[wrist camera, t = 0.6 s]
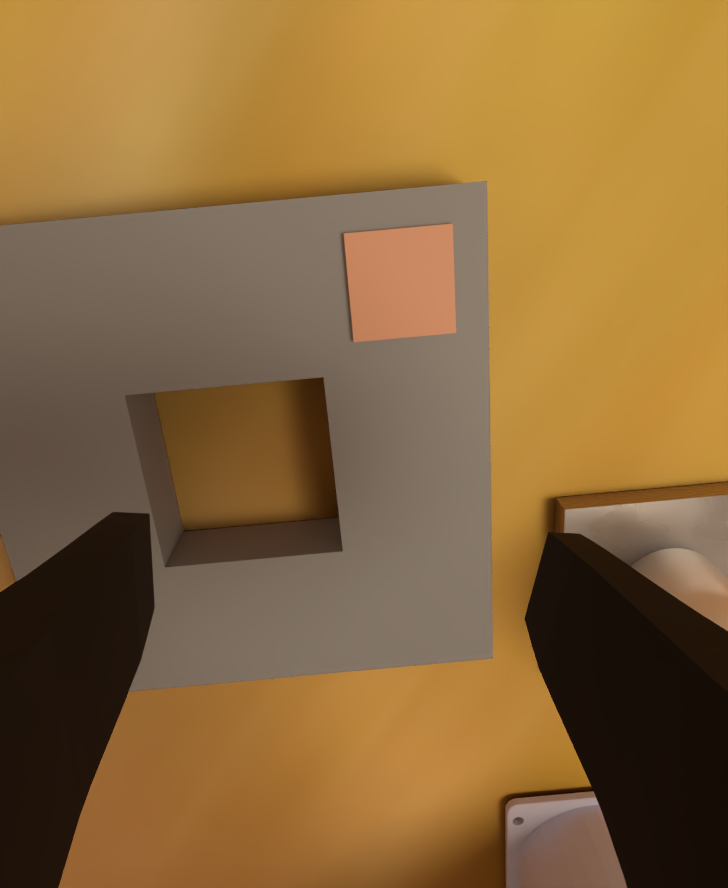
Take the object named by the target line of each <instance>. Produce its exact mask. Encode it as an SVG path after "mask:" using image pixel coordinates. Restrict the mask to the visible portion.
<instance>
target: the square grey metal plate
mask: <svg viewBox="0 0 728 888" xmlns="http://www.w3.org/2000/svg"><path fill="white" fill-rule="evenodd" d="M555 532H556V533H578V534H581V535H583V536H585V537H587V538H588V539H590V540H592V541H593V542H595V543H597V544H598V545H600V546H601V547H603V548H604V549H606V550H607V551H609V552H610V553H612V554H613V555H615V556H616V557H618V558H619V559H621V560H622V561H623V562H625V563H626V564H628V565H629V566H631V565H633V564H634V563H635V562H636V561H638V560H639V559H641V558H642V557H644V556H646V555H648V554H650V553H653V552H656V551H659V550H663V549H669V548H684V549H689V550H692V551H695V552H698V553H700V554H701V555H703V556H704V557H706V558H707V559H708V560H709V561H710V562H711V563H712V564H714V565H715V566H716V567H717V568H718V569H719V570H720V571H721V572H722V573H723V574H724V575H725V576H727V577H728V482H723V483H712V484H701V485H690V486H679V487H668V488H657V489H646V490H635V491H624V492H613V493H602V494H591V495H580V496H569V497H558V498H556V504H555Z"/></svg>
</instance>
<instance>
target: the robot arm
mask: <svg viewBox="0 0 728 888" xmlns="http://www.w3.org/2000/svg"><path fill="white" fill-rule="evenodd" d="M154 609H155V602H154V585H153V567H152V549H151V532H150V514H149V513H127V512H112V513H111V514H109V515H108V516H106V517H105V518H103V519H102V520H101V521H99V522H98V523H97V524H95V525H94V526H93V527H91V528H90V529H89V530H87V531H86V532H85V533H83V534H82V535H81V536H79V537H78V538H77V539H75V540H74V541H73V542H71V543H70V544H69V545H67V546H66V547H65V548H63V549H62V550H60V551H59V552H58V553H56V554H55V555H53V556H52V557H51V558H49V559H48V560H47V561H45V562H44V563H42V564H41V565H40V566H38V567H37V568H36V569H34V570H33V571H31V572H30V573H29V574H27V575H26V576H24V577H23V578H21V579H20V580H18V581H17V582H15V583H14V584H12V585H11V586H9V587H8V588H6V589H5V590H3V591H2V592H0V888H58V887H59V883H60V880H61V877H62V873H63V870H64V867H65V863H66V860H67V857H68V853H69V850H70V847H71V843H72V840H73V837H74V833H75V830H76V826H77V823H78V820H79V817H80V814H81V811H82V808H83V805H84V803H85V800H86V797H87V794H88V792H89V789H90V786H91V783H92V781H93V779H94V776H95V774H96V771H97V769H98V766H99V764H100V761H101V759H102V756H103V754H104V751H105V749H106V746H107V744H108V741H109V739H110V737H111V734H112V732H113V729H114V727H115V724H116V722H117V719H118V717H119V714H120V712H121V709H122V707H123V704H124V702H125V699H126V697H127V694H128V692H129V689H130V687H131V684H132V682H133V679H134V677H135V674H136V672H137V669H138V667H139V664H140V661H141V658H142V655H143V651H144V647H145V644H146V640H147V636H148V632H149V628H150V624H151V620H152V616H153V613H154ZM525 621H526V625H527V629H528V632H529V636H530V640H531V644H532V647H533V650H534V653H535V657H536V660H537V663H538V666H539V669H540V672H541V674H542V676H543V679H544V681H545V683H546V686H547V688H548V690H549V692H550V695H551V697H552V699H553V702H554V704H555V706H556V708H557V711H558V713H559V715H560V717H561V719H562V722H563V724H564V726H565V728H566V731H567V733H568V735H569V737H570V739H571V742H572V744H573V746H574V748H575V751H576V753H577V755H578V757H579V759H580V762H581V764H582V766H583V768H584V771H585V773H586V775H587V777H588V779H589V782H590V784H591V786H592V789H593V791H591V792H580V793H569V794H558V795H547V796H535V797H524V798H515V799H512V800H510V801H509V802H508V803H507V804H506V807H505V843H506V888H728V631H727V630H725V629H724V628H722V627H721V626H719V625H717V624H716V623H714V622H713V621H711V620H709V619H708V618H706V617H705V616H703V615H702V614H700V613H698V612H697V611H695V610H694V609H692V608H691V607H689V606H688V605H686V604H685V603H683V602H682V601H680V600H679V599H677V598H676V597H674V596H673V595H671V594H670V593H668V592H667V591H665V590H664V589H663V588H661V587H660V586H658V585H657V584H655V583H654V582H652V581H651V580H649V579H648V578H647V577H645V576H644V575H642V574H641V573H639V572H638V571H636V570H635V569H634V568H632V567H631V566H629V565H628V564H626V563H625V562H623V561H622V560H621V559H619V558H618V557H616V556H615V555H613V554H612V553H610V552H609V551H607V550H606V549H604V548H603V547H601V546H600V545H598V544H597V543H595V542H593V541H592V540H590V539H588V538H587V537H585V536H583V535H581V534H578V533H556V532H548V535H547V539H546V543H545V546H544V550H543V554H542V557H541V561H540V564H539V568H538V572H537V575H536V579H535V583H534V586H533V590H532V594H531V597H530V601H529V604H528V608H527V612H526V615H525Z"/></svg>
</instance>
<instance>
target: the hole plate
mask: <svg viewBox="0 0 728 888" xmlns="http://www.w3.org/2000/svg"><path fill="white" fill-rule="evenodd" d="M321 377H323V378H324V387H325V396H326V405H327V414H328V422H329V431H330V440H331V449H332V458H333V467H334V476H335V485H336V494H337V503H338V512H339V517H338V518H327V519H316V520H305V521H294V522H283V523H272V524H261V525H250V526H239V527H228V528H217V529H206V530H195V531H183V526H182V521H181V517H180V512H179V508H178V503H177V498H176V494H175V489H174V484H173V480H172V475H171V470H170V466H169V461H168V457H167V452H166V447H165V443H164V438H163V433H162V429H161V424H160V419H159V415H158V410H157V406H156V401H155V396H154V393H156V392H167V391H178V390H189V389H200V388H211V387H222V386H233V385H244V384H255V383H266V382H277V381H288V380H299V379H310V378H321ZM112 512H127V513H149V514H150V532H151V549H152V567H153V585H154V602H155V609H154V613H153V616H152V620H151V624H150V628H149V632H148V636H147V640H146V644H145V647H144V651H143V655H142V658H141V661H140V664H139V667H138V669H137V672H136V674H135V677H134V679H133V682H132V684H131V687H130V689H129V692H130V691H141V690H152V689H163V688H174V687H185V686H196V685H207V684H218V683H229V682H240V681H251V680H262V679H273V678H284V677H295V676H306V675H317V674H328V673H339V672H350V671H361V670H372V669H383V668H394V667H405V666H416V665H427V664H438V663H449V662H460V661H471V660H482V659H493V623H492V543H491V462H490V381H489V301H488V220H487V181H482V182H471V183H460V184H449V185H438V186H427V187H416V188H405V189H394V190H383V191H372V192H361V193H351V194H340V195H329V196H318V197H307V198H296V199H285V200H274V201H263V202H252V203H241V204H230V205H219V206H208V207H197V208H186V209H175V210H164V211H153V212H142V213H131V214H120V215H110V216H99V217H88V218H77V219H66V220H55V221H44V222H33V223H22V224H11V225H0V534H1V537H2V540H3V543H4V546H5V549H6V552H7V555H8V558H9V561H10V564H11V567H12V570H13V573H14V576H15V579H16V582H17V581H18V580H20V579H21V578H23V577H24V576H26V575H27V574H29V573H30V572H31V571H33V570H34V569H36V568H37V567H38V566H40V565H41V564H42V563H44V562H45V561H47V560H48V559H49V558H51V557H52V556H53V555H55V554H56V553H58V552H59V551H60V550H62V549H63V548H65V547H66V546H67V545H69V544H70V543H71V542H73V541H74V540H75V539H77V538H78V537H79V536H81V535H82V534H83V533H85V532H86V531H87V530H89V529H90V528H91V527H93V526H94V525H95V524H97V523H98V522H99V521H101V520H102V519H103V518H105V517H106V516H108V515H109V514H111V513H112Z"/></svg>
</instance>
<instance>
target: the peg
mask: <svg viewBox="0 0 728 888" xmlns="http://www.w3.org/2000/svg"><path fill="white" fill-rule="evenodd" d="M631 567H632V568H634V569H635V570H636V571H638V572H639V573H641V574H642V575H644V576H645V577H647V578H648V579H649V580H651V581H652V582H654V583H655V584H657V585H658V586H660V587H661V588H663V589H664V590H665V591H667V592H668V593H670V594H671V595H673V596H674V597H676V598H677V599H679V600H680V601H682V602H683V603H685V604H686V605H688V606H689V607H691V608H692V609H694V610H695V611H697V612H698V613H700V614H702V615H703V616H705V617H706V618H708V619H709V620H711V621H713V622H714V623H716V624H717V625H719V626H721V627H722V628H724V629H725V630H727V631H728V577H727V576H725V575H724V574H723V573H722V572H721V571H720V570H719V569H718V568H717V567H716V566H715V565H714V564H712V563H711V562H710V561H709V560H708V559H707V558H706V557H704V556H703V555H701V554H700V553H698V552H695V551H692V550H689V549H684V548H669V549H663V550H659V551H656V552H653V553H650V554H648V555H646V556H644V557H642V558H641V559H639V560H638V561H636V562H635V563H634V564H633V565H631Z"/></svg>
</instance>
